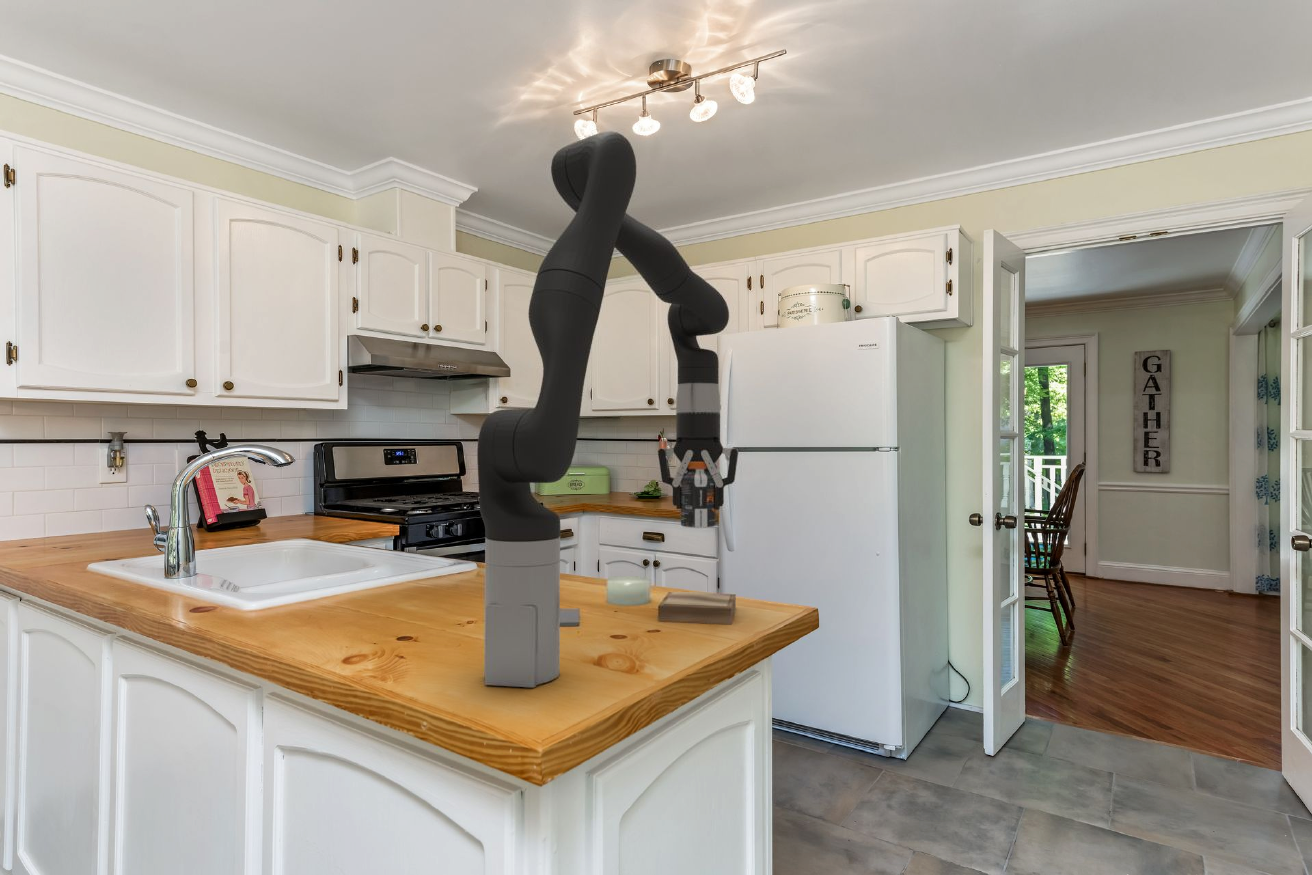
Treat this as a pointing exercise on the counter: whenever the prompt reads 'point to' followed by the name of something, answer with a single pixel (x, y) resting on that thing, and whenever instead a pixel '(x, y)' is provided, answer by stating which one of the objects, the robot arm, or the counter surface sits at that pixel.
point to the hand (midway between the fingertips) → (698, 508)
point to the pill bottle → (698, 497)
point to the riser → (697, 608)
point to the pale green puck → (628, 591)
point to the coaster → (569, 617)
